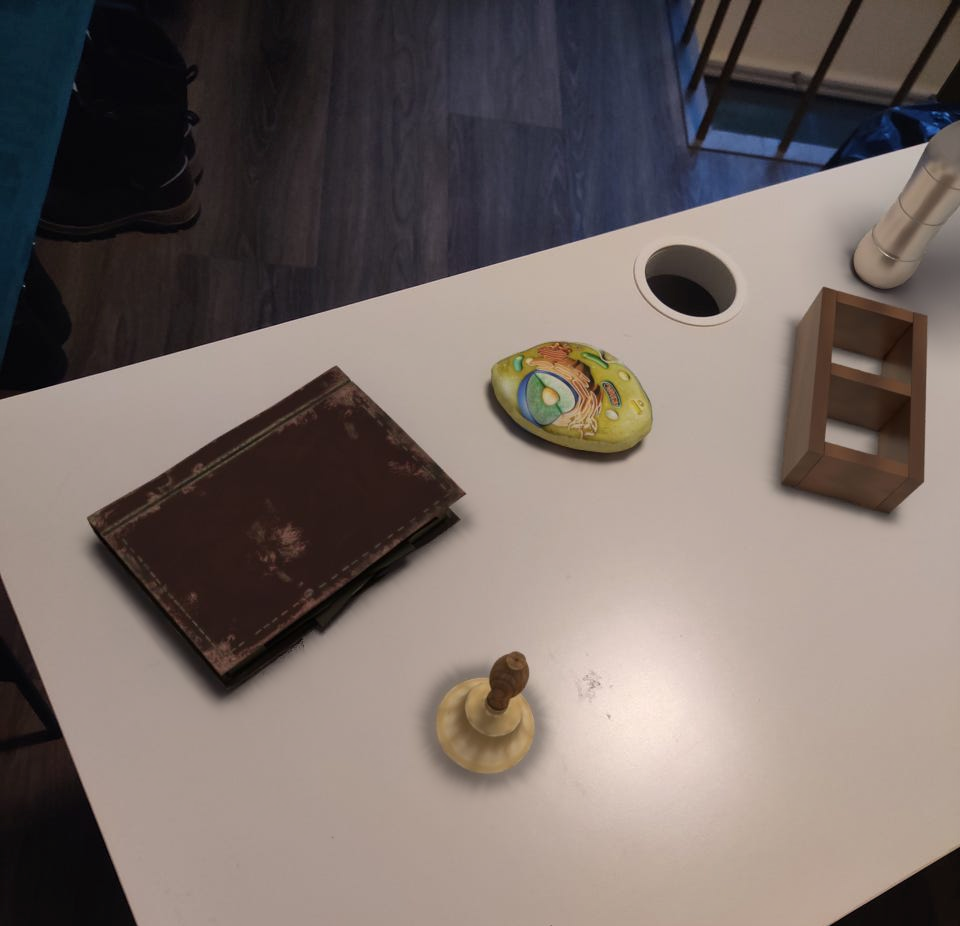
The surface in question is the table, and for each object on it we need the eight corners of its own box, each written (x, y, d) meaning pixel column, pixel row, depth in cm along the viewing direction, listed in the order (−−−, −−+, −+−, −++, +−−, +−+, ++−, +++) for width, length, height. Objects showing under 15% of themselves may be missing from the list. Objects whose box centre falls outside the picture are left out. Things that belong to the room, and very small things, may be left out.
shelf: (893, 356, 90) (927, 315, 84) (886, 516, 82) (924, 482, 76) (795, 329, 90) (823, 286, 84) (778, 486, 81) (808, 450, 76)
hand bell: (544, 767, 68) (594, 707, 53) (443, 784, 66) (466, 727, 52) (523, 671, 71) (564, 590, 56) (425, 686, 69) (442, 605, 55)
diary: (98, 540, 70) (79, 509, 66) (333, 392, 79) (331, 356, 74) (235, 701, 67) (226, 680, 62) (466, 528, 75) (473, 498, 71)
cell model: (639, 473, 77) (503, 386, 72) (595, 490, 84) (469, 412, 79) (679, 373, 79) (550, 282, 74) (633, 398, 86) (512, 316, 81)
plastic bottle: (857, 243, 96) (973, 67, 77) (910, 271, 95) (1041, 101, 77) (837, 277, 93) (953, 104, 75) (892, 307, 93) (1022, 139, 74)
